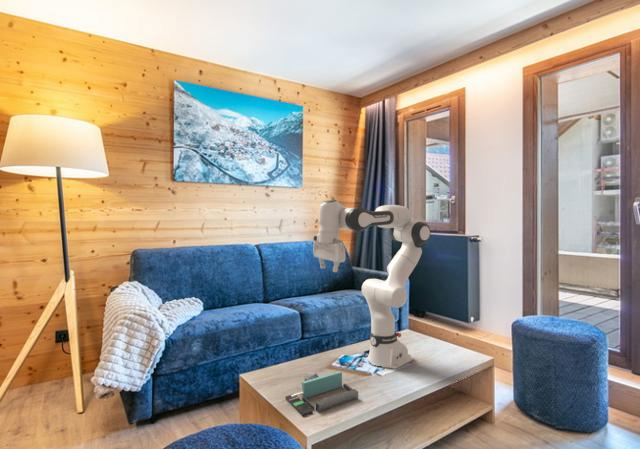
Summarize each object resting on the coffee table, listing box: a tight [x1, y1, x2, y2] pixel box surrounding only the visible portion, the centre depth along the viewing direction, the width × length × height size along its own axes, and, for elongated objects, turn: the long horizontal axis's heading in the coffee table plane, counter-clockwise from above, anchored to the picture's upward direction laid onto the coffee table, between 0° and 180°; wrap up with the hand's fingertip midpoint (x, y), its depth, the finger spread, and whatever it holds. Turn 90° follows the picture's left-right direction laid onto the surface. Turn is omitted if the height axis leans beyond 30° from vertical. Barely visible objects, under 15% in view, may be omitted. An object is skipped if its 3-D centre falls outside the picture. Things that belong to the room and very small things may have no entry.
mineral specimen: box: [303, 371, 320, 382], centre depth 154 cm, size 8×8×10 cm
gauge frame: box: [285, 383, 359, 417], centre depth 143 cm, size 25×15×3 cm, turn 122°
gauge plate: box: [290, 370, 343, 399], centre depth 147 cm, size 23×2×6 cm, turn 122°
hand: (328, 270), depth 158 cm, fingers open, 8 cm apart
